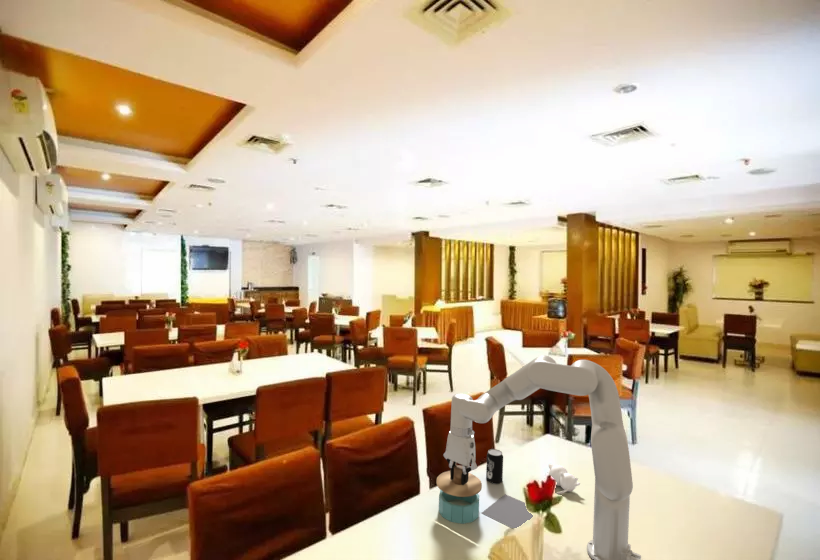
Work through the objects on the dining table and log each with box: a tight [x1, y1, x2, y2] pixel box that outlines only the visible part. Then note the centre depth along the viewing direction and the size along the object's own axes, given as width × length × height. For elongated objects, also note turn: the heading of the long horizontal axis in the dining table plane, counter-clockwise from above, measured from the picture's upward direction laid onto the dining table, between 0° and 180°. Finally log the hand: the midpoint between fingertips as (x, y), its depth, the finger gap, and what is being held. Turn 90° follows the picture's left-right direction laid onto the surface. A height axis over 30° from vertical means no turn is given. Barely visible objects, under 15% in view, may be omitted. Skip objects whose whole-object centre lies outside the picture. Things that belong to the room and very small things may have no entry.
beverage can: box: [485, 448, 504, 485], centre depth 164 cm, size 7×7×12 cm
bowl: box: [438, 489, 480, 525], centre depth 142 cm, size 14×14×6 cm
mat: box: [481, 493, 533, 529], centre depth 142 cm, size 17×17×1 cm
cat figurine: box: [548, 463, 581, 495], centre depth 160 cm, size 9×11×12 cm
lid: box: [436, 464, 483, 497], centre depth 142 cm, size 16×16×6 cm
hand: (459, 480), depth 142 cm, fingers closed on lid, 4 cm apart
